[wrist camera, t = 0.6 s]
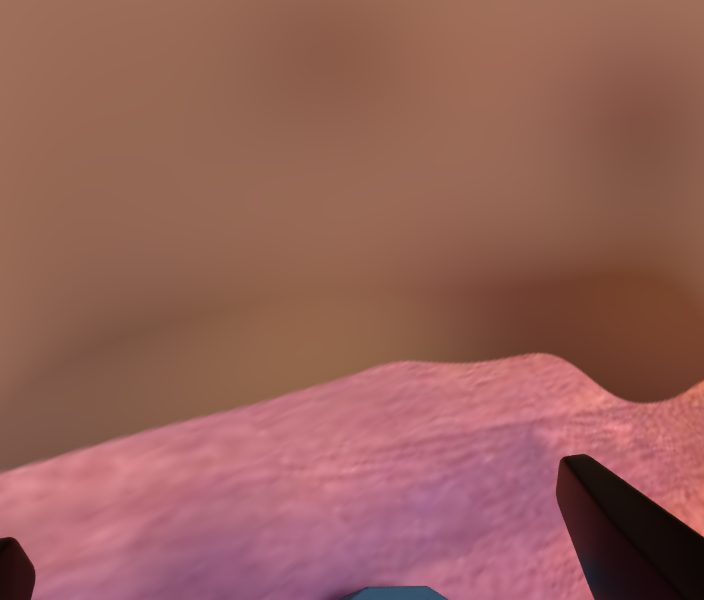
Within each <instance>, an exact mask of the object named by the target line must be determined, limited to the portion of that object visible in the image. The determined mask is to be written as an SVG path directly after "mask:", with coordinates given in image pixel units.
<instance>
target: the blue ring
mask: <svg viewBox="0 0 704 600" xmlns="http://www.w3.org/2000/svg"><path fill="white" fill-rule="evenodd" d="M340 600H448V599H446V598H445V597H443V596H442V595H440V594H439V593H437V592H436V591H434V590H433V589H431V588H429V587H428V586H404V587H366V588H364V589H362V590H359V591H357V592H354V593H352V594H349V595H347V596H345V597H343V598H341V599H340Z"/></svg>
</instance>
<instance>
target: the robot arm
mask: <svg viewBox="0 0 704 600" xmlns="http://www.w3.org/2000/svg"><path fill="white" fill-rule="evenodd" d="M556 497H557V501H558V505H559V508H560V510H561V513H562V516H563V518H564V521H565V524H566V526H567V529H568V532H569V534H570V537H571V540H572V543H573V545H574V548H575V551H576V553H577V556H578V559H579V561H580V564H581V567H582V569H583V572H584V575H585V577H586V580H587V582H588V585H589V587H590V590H591V592H592V595H593V597H594V599H595V600H704V537H703V536H701V535H700V534H699V533H697V532H696V531H694V530H693V529H692V528H690V527H689V526H687V525H686V524H685V523H683V522H682V521H680V520H679V519H678V518H676V517H675V516H673V515H672V514H670V513H669V512H668V511H666V510H665V509H663V508H662V507H661V506H659V505H658V504H656V503H655V502H654V501H652V500H651V499H649V498H648V497H647V496H645V495H644V494H642V493H641V492H640V491H638V490H637V489H635V488H634V487H632V486H631V485H630V484H628V483H627V482H625V481H624V480H623V479H621V478H620V477H618V476H617V475H616V474H614V473H613V472H611V471H610V470H609V469H607V468H606V467H604V466H603V465H602V464H600V463H599V462H597V461H596V460H594V459H593V458H592V457H590V456H588V455H585V454H579V455H572V456H565V457H563V458H562V459H561V460H560V464H559V471H558V479H557V486H556ZM34 585H35V569H34V566H33V564H32V563H31V561H30V560H29V558H28V556H27V555H26V553H25V552H24V550H23V549H22V547H21V545H20V544H19V542H18V541H17V540H16V539H14V538H12V537H6V538H0V600H31V597H32V593H33V589H34Z"/></svg>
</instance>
